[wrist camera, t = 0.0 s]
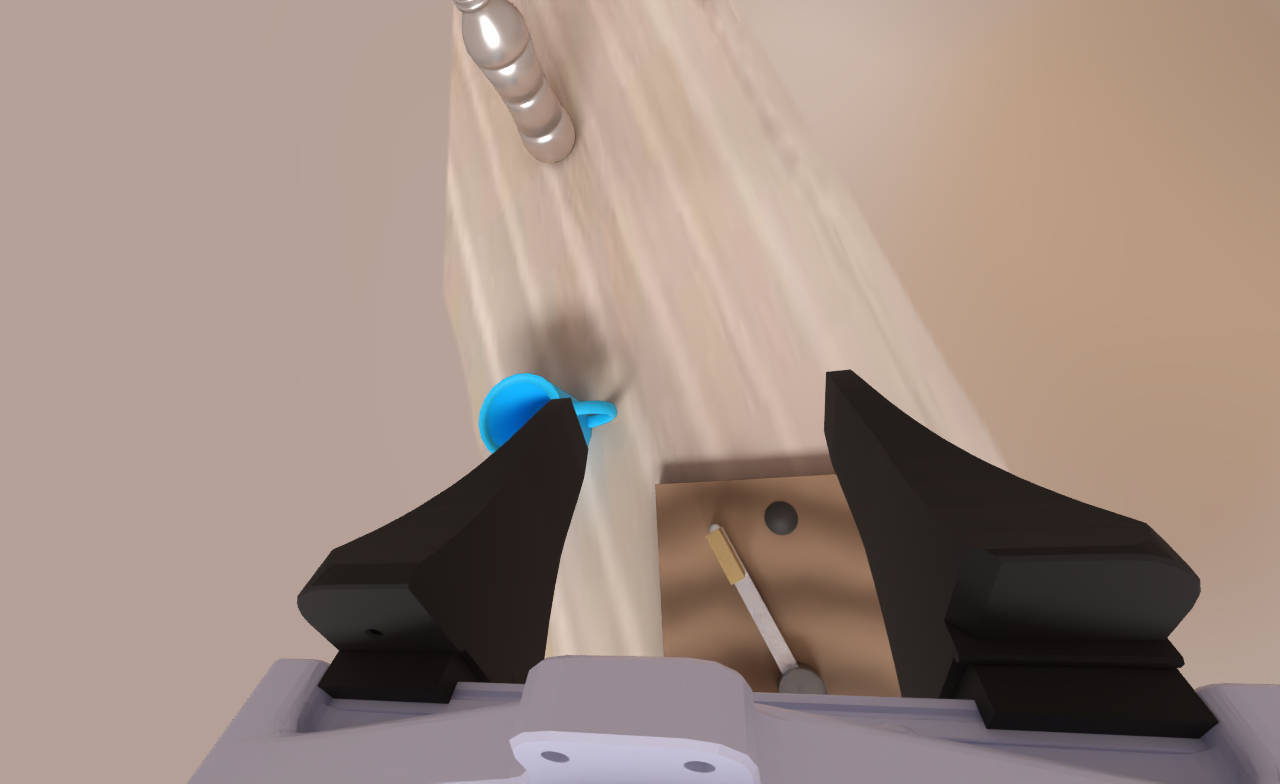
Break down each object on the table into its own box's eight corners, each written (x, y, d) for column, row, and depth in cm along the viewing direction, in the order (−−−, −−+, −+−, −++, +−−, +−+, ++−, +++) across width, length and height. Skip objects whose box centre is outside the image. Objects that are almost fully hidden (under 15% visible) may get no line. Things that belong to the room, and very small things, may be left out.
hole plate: (923, 731, 36) (934, 744, 34) (671, 719, 40) (667, 730, 38) (879, 473, 41) (885, 471, 39) (659, 485, 45) (655, 484, 43)
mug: (523, 476, 48) (481, 470, 41) (517, 402, 51) (476, 383, 43) (632, 455, 46) (610, 444, 39) (621, 379, 49) (597, 355, 41)
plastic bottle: (545, 180, 57) (446, 18, 38) (523, 145, 59) (419, -25, 40) (589, 151, 57) (510, -28, 38) (565, 116, 59) (479, -68, 40)
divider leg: (834, 701, 36) (847, 729, 31) (793, 721, 36) (800, 752, 32) (730, 515, 41) (728, 515, 36) (695, 534, 41) (688, 537, 37)
